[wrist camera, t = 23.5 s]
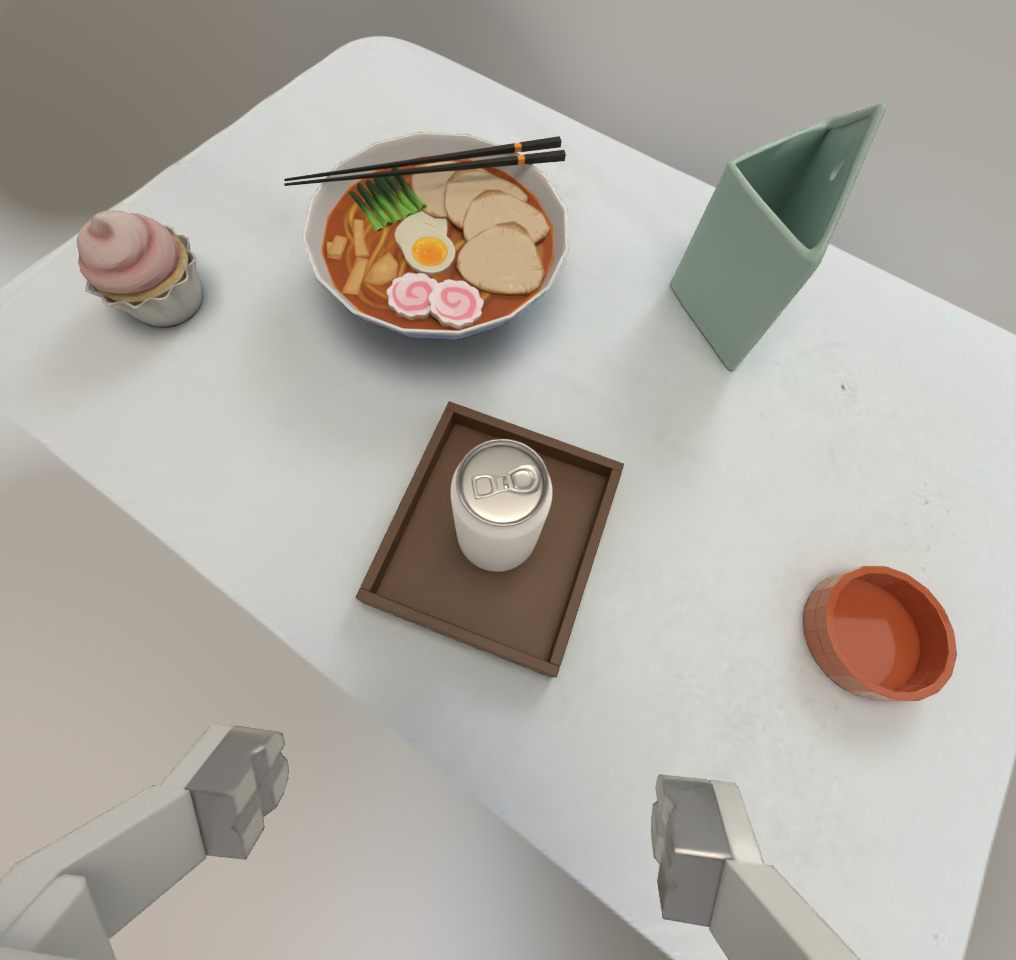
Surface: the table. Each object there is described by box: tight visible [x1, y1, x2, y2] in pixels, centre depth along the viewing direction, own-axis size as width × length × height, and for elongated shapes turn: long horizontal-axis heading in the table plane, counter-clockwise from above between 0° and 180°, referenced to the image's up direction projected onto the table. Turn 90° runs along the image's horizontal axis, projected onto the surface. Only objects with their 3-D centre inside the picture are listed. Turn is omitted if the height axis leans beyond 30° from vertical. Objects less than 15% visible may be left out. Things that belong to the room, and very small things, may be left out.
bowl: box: [804, 566, 957, 701], centre depth 40 cm, size 10×10×3 cm
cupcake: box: [77, 210, 203, 327], centre depth 45 cm, size 9×9×10 cm
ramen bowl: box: [284, 132, 569, 340], centre depth 48 cm, size 25×23×8 cm
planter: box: [671, 102, 886, 371], centre depth 44 cm, size 16×8×20 cm, turn 162°
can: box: [451, 439, 552, 572], centre depth 37 cm, size 6×6×12 cm
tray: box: [356, 402, 624, 678], centre depth 42 cm, size 18×16×2 cm
